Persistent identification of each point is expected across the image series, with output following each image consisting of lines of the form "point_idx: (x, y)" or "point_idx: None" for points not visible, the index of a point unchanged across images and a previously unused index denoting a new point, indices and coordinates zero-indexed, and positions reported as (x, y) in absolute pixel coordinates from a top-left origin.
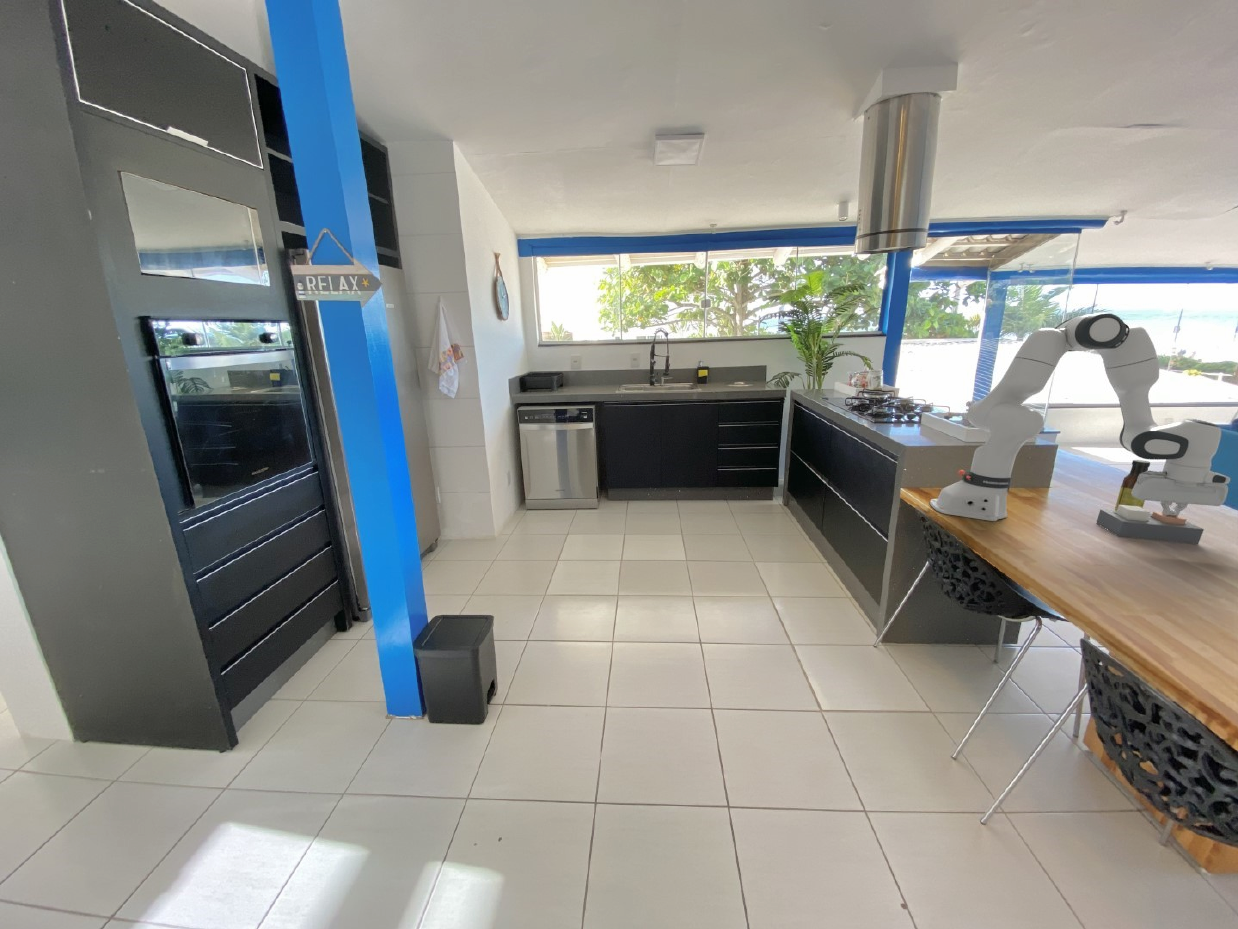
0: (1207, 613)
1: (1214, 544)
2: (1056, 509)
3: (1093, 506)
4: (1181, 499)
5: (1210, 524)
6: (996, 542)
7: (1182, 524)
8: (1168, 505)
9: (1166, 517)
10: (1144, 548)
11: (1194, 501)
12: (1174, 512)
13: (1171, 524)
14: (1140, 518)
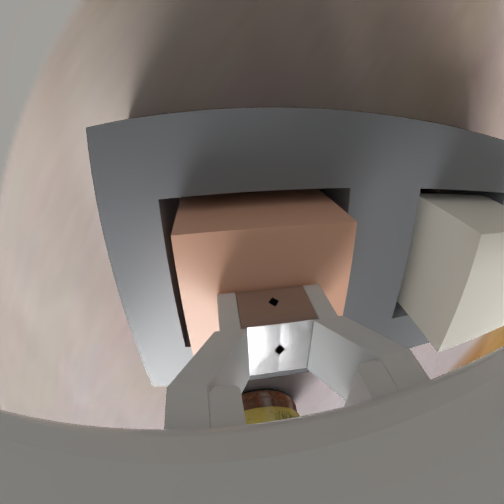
0: None
1: (45, 170)
2: (442, 366)
3: None
4: (335, 479)
5: (26, 401)
6: None
7: (194, 209)
8: (384, 355)
9: (345, 227)
10: (445, 4)
11: (96, 472)
12: (265, 315)
13: (305, 163)
14: (467, 205)
